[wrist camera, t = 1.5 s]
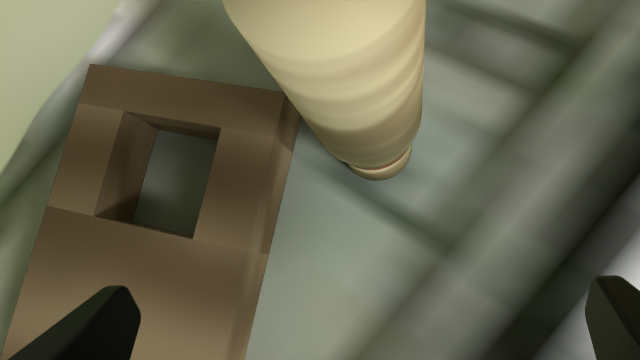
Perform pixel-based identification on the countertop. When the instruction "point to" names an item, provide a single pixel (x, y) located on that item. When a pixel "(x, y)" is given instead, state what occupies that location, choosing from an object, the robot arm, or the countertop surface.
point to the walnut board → (155, 244)
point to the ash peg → (345, 71)
